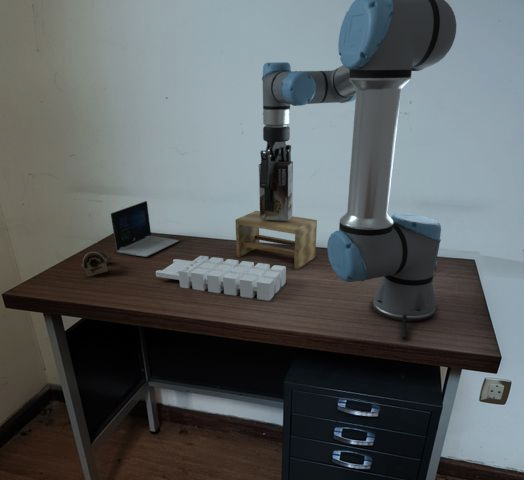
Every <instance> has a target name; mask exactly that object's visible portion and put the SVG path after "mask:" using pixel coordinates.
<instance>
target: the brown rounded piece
mask: <svg viewBox="0 0 524 480" xmlns="http://www.w3.org/2000/svg"><path fill="white" fill-rule="evenodd" d="M112 259H113V258H112V256H111V255H107V254H105V253H104V252H103V251H99V250H94V251H89V252H87V253H86V254H85V255H84V256H83V259H82V263H81V264H80V265H81V268H82V269H84V271H85V273H86V276H87V277H91V276H92V277H93V276H95V275H100V274H102V273H107V272H109V269H108V267H109V261H111V260H112Z"/></svg>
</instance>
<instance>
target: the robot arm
mask: <svg viewBox="0 0 524 480" xmlns="http://www.w3.org/2000/svg"><path fill="white" fill-rule="evenodd" d="M456 19H457V18H456V15H455V11H454V10H453V8H452V6H451V5H450V4H449V2H447V1H446V0H354V1H353V2H352V3H351V5H350V6H349V8H348V10H347V11H346V13H345V15H344V17H343V20H342V23H341V26H340V29H339V35H338V45H337V46H338V47H337V49H338V55H339V56H340V58H339V60H340V62H341V64H342V65H341V66H338V67H337V68H335V69H333V70H332V69H331V70H294V71H293V70H292V68H291V63H289V62H287V61H286V62H284V61H283V62H265V63H264V64H263V67H262V77H261V81H262V120H263V121H262V123H263V125H264V126H263V127H262V139H263V141H264V142H266V147H265V150H260V152H259V153H260V164H261V170H260V187H261V188H264V199H265V210H266V211H274V189H273V188H272V185H273V179H274V174H275V165H277V164H278V161H280V162H285V161H292V156H291V152H292V144H287V142H288V141H290V136H291V135H290V133H291V129H290V126H289V125H290V123H291V106H293V107H298V106H299V107H300V106H305V105H315V104H331V103H333V104H335V103H339V104H345V103H350V102H351V103H352V102H353V101H354V113H353V115H354V116H353V128H352V140H351V141H352V142H351V156H350V171H349V181H348V182H349V183H348V195H347V196H348V197H347V209H346V210H347V211H346V212H345V213H344V214H343V215H342V216H341V217H340V218H339V223H338V230H335V231H333V232H332V233H330V235H329V237H328V239H327V245H326V248H327V256H328V261H329V264H330V266H331V268H332V270H333V272H334V273H335V275H336V276H337V277H338V278H339V279H340V280H342V281H344V282H345V283H346V282H347V283H354V282H365V281H367V280H368V281H369V280H372V279H378V278H382V280H381V282H380V283H379V286H378V288H377V290H376V292H375V295H374V297H373V301H372V308H373V310H374V311H375V312H376V313H377V314H379V315H381V316H382V317H385V318H387V319H390V320H395V321H399V322H402V331H401V332H402V341H406V340H408V339H407V337H408V336H407V333H408V332H407V322H421V321H425V320H429V319H431V318H432V317H433V316H434V315H435V314H436V309H437V301H436V294H435V289H434V284H433V281H434V276H435V269H436V266H437V264H436V262H437V260H438V254H439V249H440V244H441V241H442V239H441V235H442V226H441V224H440V223H439V221H438V220H436V219H433V218H431V217H428V216H424V215H420V214H415V213H405V212H402V213H401V212H399V213H394V214H392V215H391V216H390V215H389V214H388V212H389V210H388V209H389V203H390V202H389V201H390V194H391V187H392V186H391V185H392V184H391V183H392V175H393V166H394V159H395V149H396V140H397V133H398V122H399V114H400V105H401V96H402V90H403V88H404V87H405V86H406V85H407V84H408V83H409V82H410V81H411V79H412V73H416V72H419V71H422V70H425V69H427V68H430V67H431V66H434V65H435V64H437V63H439V62H440V61H442V60H443V59H444V58H445V57H446V56H447V54H448V53H449V52H450V50H451V48H452V47H453V45H454V41H455V39H456V34H457V20H456ZM435 265H436V266H435Z"/></svg>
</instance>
